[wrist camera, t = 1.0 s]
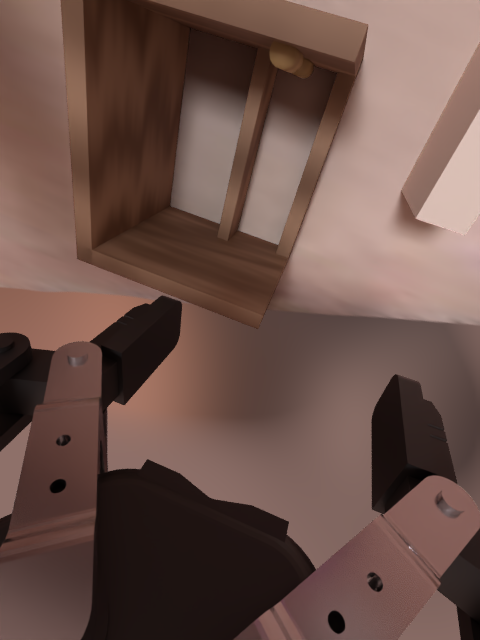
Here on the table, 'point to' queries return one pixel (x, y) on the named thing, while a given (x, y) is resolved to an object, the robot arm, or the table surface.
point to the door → (451, 161)
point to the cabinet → (162, 133)
